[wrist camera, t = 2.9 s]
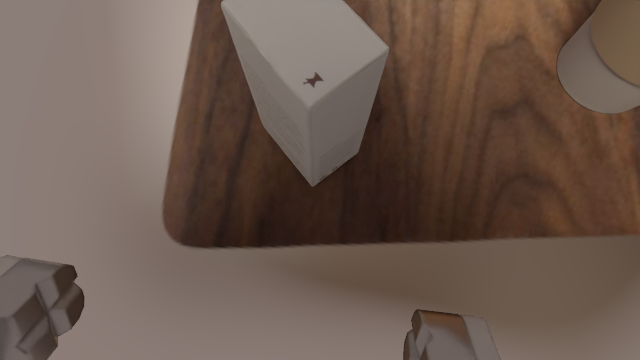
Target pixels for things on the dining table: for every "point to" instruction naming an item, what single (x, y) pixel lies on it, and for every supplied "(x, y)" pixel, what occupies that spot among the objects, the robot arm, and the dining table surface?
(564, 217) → the dining table surface
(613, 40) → the coffee cup
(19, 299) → the robot arm
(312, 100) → the cosmetic box
